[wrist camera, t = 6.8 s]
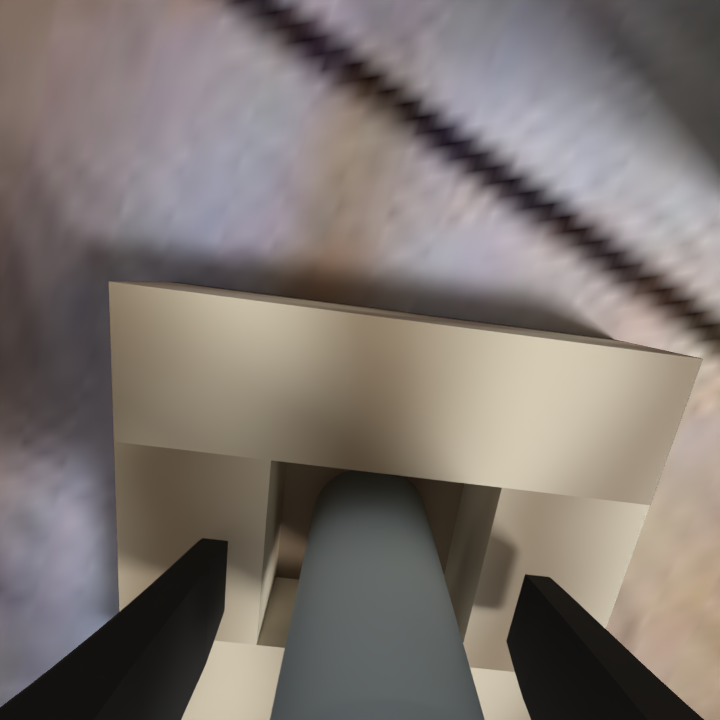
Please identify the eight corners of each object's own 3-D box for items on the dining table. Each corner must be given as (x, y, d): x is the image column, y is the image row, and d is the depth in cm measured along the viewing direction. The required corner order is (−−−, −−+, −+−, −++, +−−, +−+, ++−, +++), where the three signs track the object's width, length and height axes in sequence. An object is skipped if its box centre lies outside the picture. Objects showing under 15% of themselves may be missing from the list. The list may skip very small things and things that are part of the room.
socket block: (616, 339, 10) (702, 358, 7) (516, 676, 13) (553, 771, 10) (174, 282, 10) (108, 281, 7) (171, 639, 13) (123, 730, 10)
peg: (437, 479, 11) (533, 721, 5) (409, 573, 11) (461, 880, 6) (325, 456, 10) (279, 679, 5) (304, 553, 11) (241, 848, 5)
